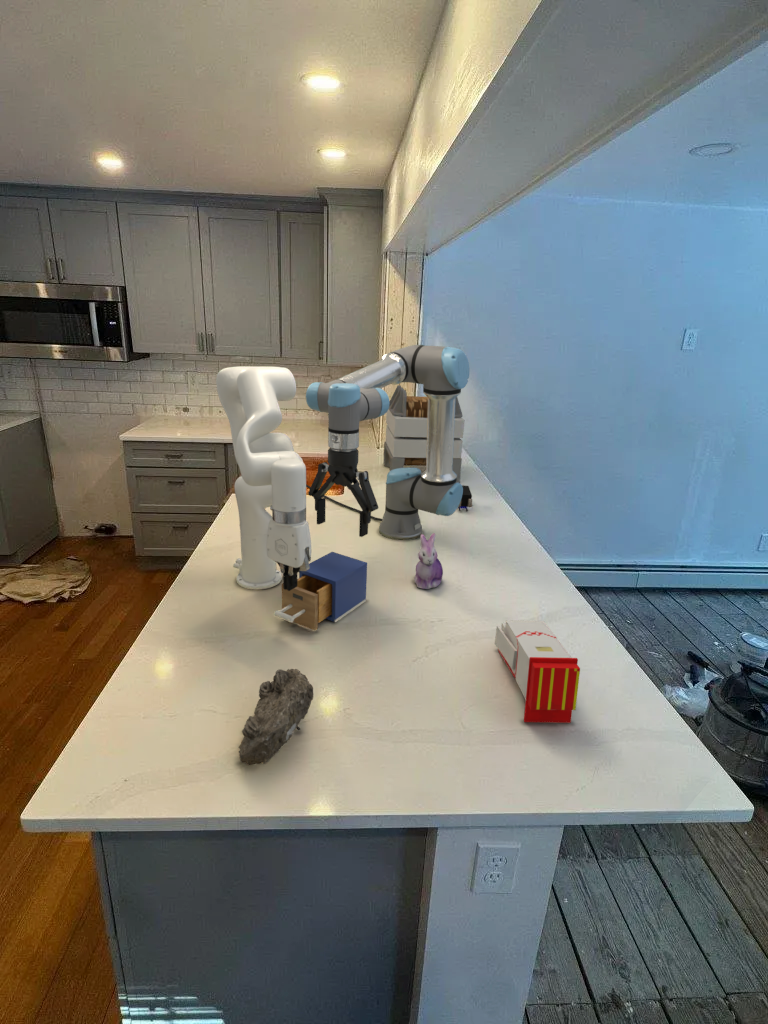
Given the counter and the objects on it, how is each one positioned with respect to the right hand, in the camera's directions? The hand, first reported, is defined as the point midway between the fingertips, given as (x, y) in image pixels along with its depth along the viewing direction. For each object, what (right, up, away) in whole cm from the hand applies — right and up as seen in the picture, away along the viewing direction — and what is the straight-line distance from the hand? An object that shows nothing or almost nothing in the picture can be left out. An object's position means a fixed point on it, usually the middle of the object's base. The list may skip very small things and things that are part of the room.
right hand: (341, 529), depth 146 cm
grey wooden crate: (+28, +23, +129) cm, 134 cm away
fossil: (-9, -36, -40) cm, 55 cm away
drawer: (-8, -22, -5) cm, 24 cm away
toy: (+42, -32, -23) cm, 58 cm away
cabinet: (-3, -20, +4) cm, 21 cm away
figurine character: (+42, +6, +84) cm, 94 cm away
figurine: (+24, -16, +19) cm, 34 cm away
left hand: (-11, -13, -13) cm, 22 cm away
